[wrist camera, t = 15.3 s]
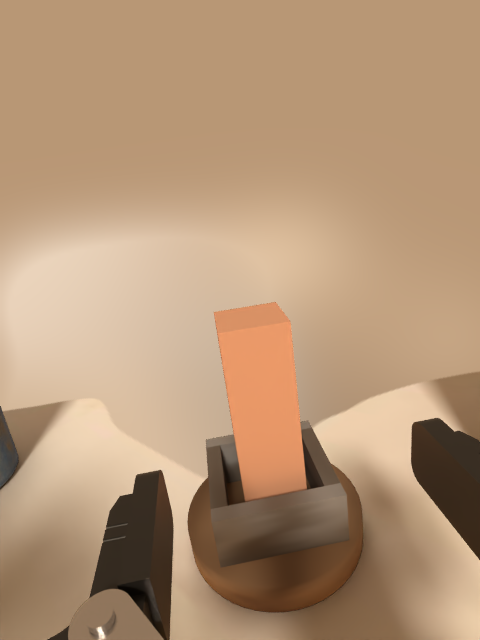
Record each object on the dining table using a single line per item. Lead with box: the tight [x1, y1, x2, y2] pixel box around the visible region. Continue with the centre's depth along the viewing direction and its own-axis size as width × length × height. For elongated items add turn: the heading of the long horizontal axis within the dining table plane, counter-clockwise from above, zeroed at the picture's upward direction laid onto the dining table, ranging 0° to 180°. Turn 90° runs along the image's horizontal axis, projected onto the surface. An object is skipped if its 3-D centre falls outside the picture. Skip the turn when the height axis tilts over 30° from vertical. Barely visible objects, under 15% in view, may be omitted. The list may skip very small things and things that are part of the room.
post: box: [214, 302, 307, 502], centre depth 26 cm, size 4×4×14 cm
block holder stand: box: [188, 421, 363, 612], centre depth 28 cm, size 12×12×6 cm
